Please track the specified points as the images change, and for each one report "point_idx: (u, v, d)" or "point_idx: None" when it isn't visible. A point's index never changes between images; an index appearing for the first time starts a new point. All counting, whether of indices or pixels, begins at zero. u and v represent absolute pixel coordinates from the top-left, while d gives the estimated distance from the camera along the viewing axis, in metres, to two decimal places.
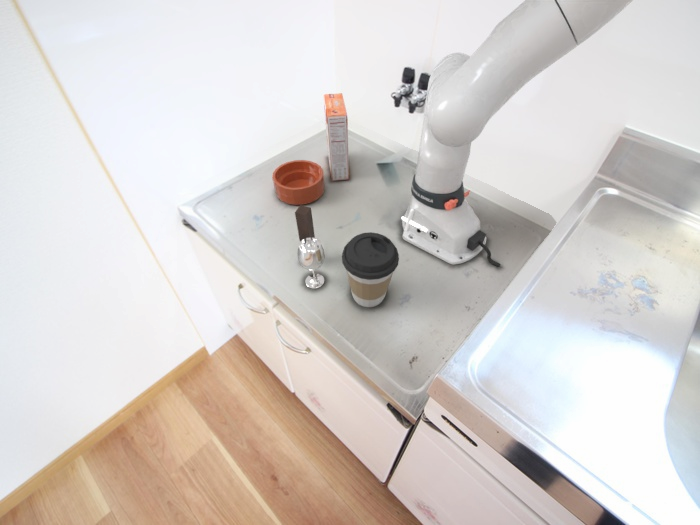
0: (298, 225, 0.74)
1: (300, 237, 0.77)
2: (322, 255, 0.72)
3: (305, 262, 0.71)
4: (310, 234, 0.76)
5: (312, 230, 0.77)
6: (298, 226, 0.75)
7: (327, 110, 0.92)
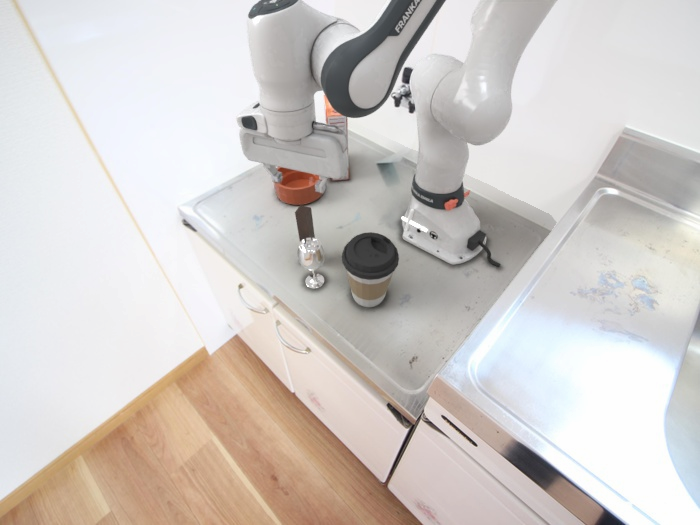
0: (298, 225, 0.74)
1: (300, 237, 0.77)
2: (322, 255, 0.72)
3: (305, 262, 0.71)
4: (310, 234, 0.76)
5: (312, 230, 0.77)
6: (298, 226, 0.75)
7: (327, 110, 0.92)
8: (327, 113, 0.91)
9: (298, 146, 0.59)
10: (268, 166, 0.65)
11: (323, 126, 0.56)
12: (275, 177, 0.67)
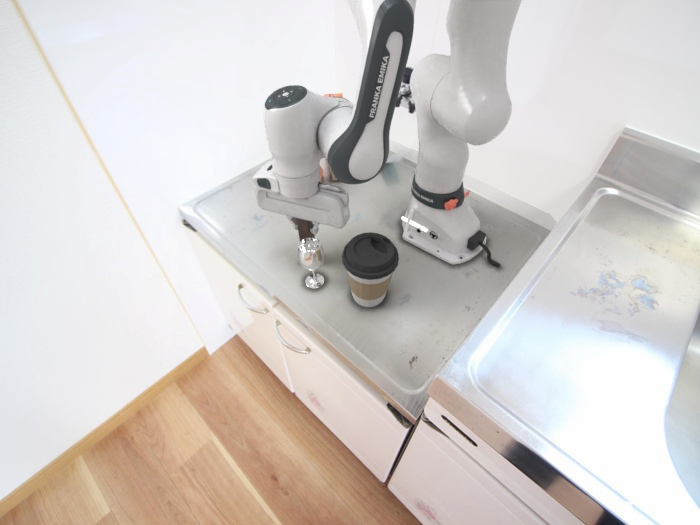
0: (298, 225, 0.74)
1: (300, 237, 0.77)
2: (322, 255, 0.72)
3: (305, 262, 0.71)
4: (310, 234, 0.76)
5: None
6: (298, 226, 0.74)
7: None
8: None
9: (306, 201, 0.68)
10: (290, 217, 0.74)
11: (327, 187, 0.65)
12: (296, 226, 0.75)
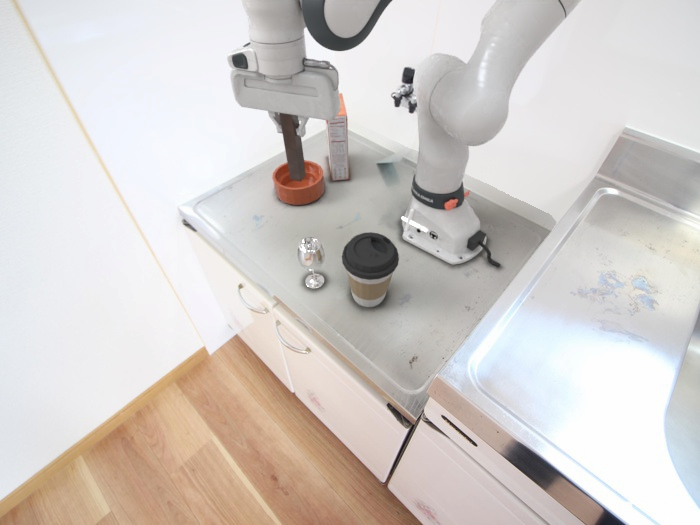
0: (282, 125, 0.65)
1: (285, 143, 0.68)
2: (322, 255, 0.72)
3: (305, 262, 0.71)
4: (297, 138, 0.67)
5: None
6: (282, 126, 0.65)
7: None
8: None
9: (289, 86, 0.59)
10: (273, 114, 0.64)
11: (313, 62, 0.56)
12: (280, 127, 0.66)
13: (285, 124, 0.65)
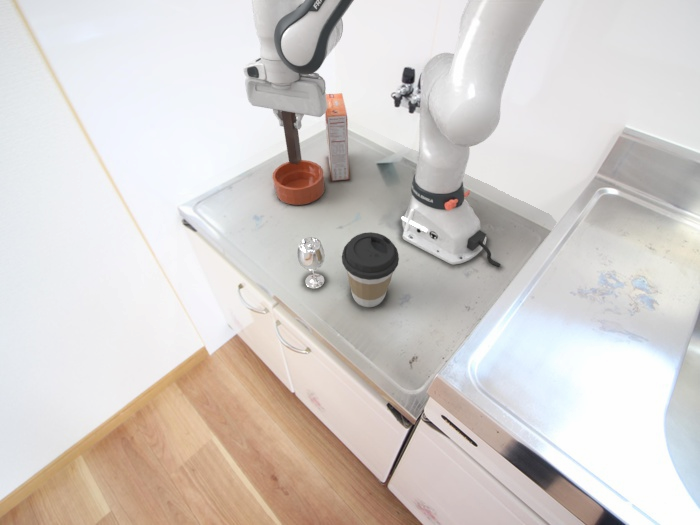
0: (283, 119, 0.85)
1: (286, 134, 0.88)
2: (322, 255, 0.72)
3: (305, 262, 0.71)
4: (294, 130, 0.88)
5: None
6: (283, 121, 0.86)
7: (327, 110, 0.92)
8: (327, 113, 0.91)
9: (289, 90, 0.79)
10: (277, 112, 0.85)
11: (307, 74, 0.76)
12: (282, 121, 0.86)
13: (285, 119, 0.85)
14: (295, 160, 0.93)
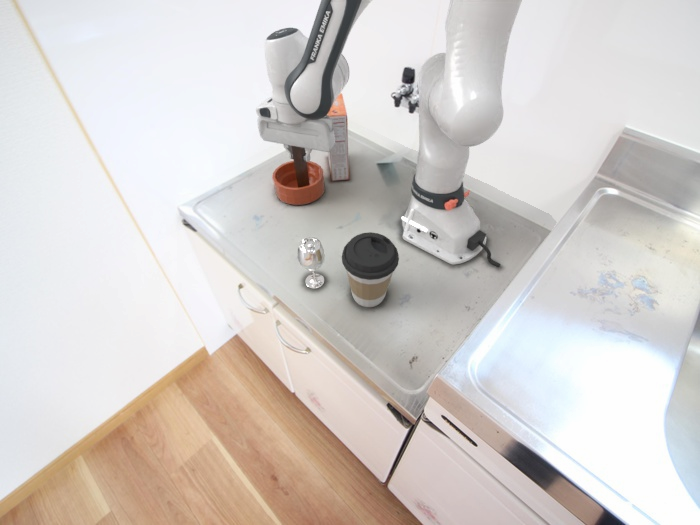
0: (293, 153, 0.90)
1: (295, 166, 0.93)
2: (322, 255, 0.72)
3: (305, 262, 0.71)
4: (303, 162, 0.92)
5: None
6: (293, 154, 0.91)
7: None
8: None
9: (299, 128, 0.84)
10: (287, 146, 0.90)
11: None
12: (292, 154, 0.91)
13: (295, 153, 0.90)
14: None
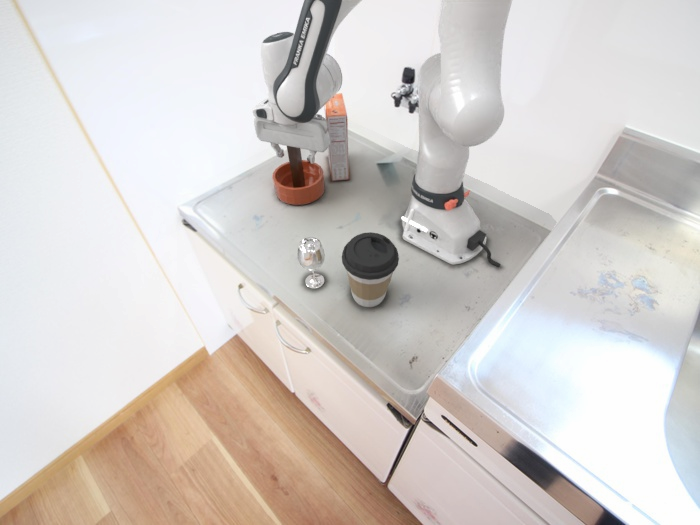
0: (289, 154, 0.92)
1: (291, 166, 0.95)
2: (322, 255, 0.72)
3: (305, 262, 0.71)
4: (299, 162, 0.95)
5: (300, 159, 0.95)
6: (289, 155, 0.93)
7: (327, 110, 0.92)
8: (327, 113, 0.91)
9: (294, 129, 0.86)
10: (274, 145, 0.93)
11: None
12: (279, 153, 0.94)
13: (291, 153, 0.92)
14: None
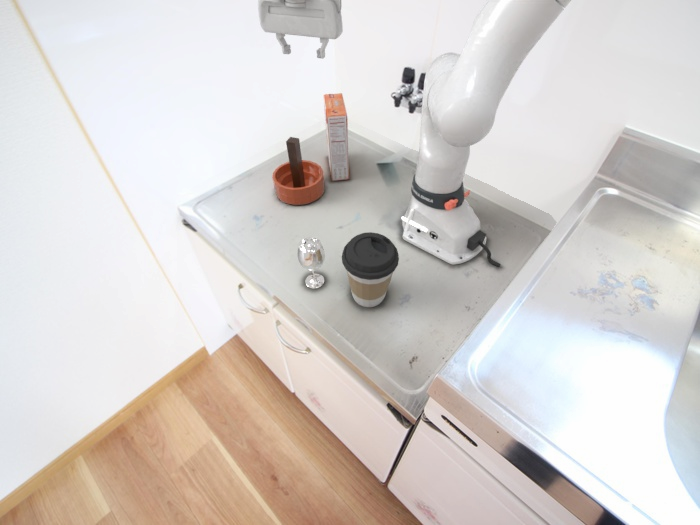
0: (289, 154, 0.92)
1: (291, 166, 0.95)
2: (322, 255, 0.72)
3: (305, 262, 0.71)
4: (299, 162, 0.95)
5: (300, 159, 0.95)
6: (289, 155, 0.93)
7: (327, 110, 0.92)
8: (327, 113, 0.91)
9: (303, 10, 0.77)
10: (280, 36, 0.83)
11: None
12: (285, 47, 0.85)
13: (291, 153, 0.92)
14: None
